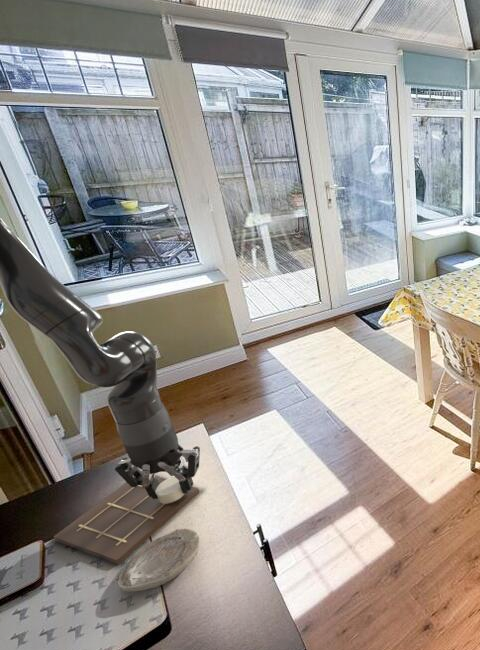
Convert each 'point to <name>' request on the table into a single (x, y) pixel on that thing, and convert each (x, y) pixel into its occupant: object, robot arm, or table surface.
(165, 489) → the stone
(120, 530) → the board
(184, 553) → the fossil
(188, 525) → the table surface
